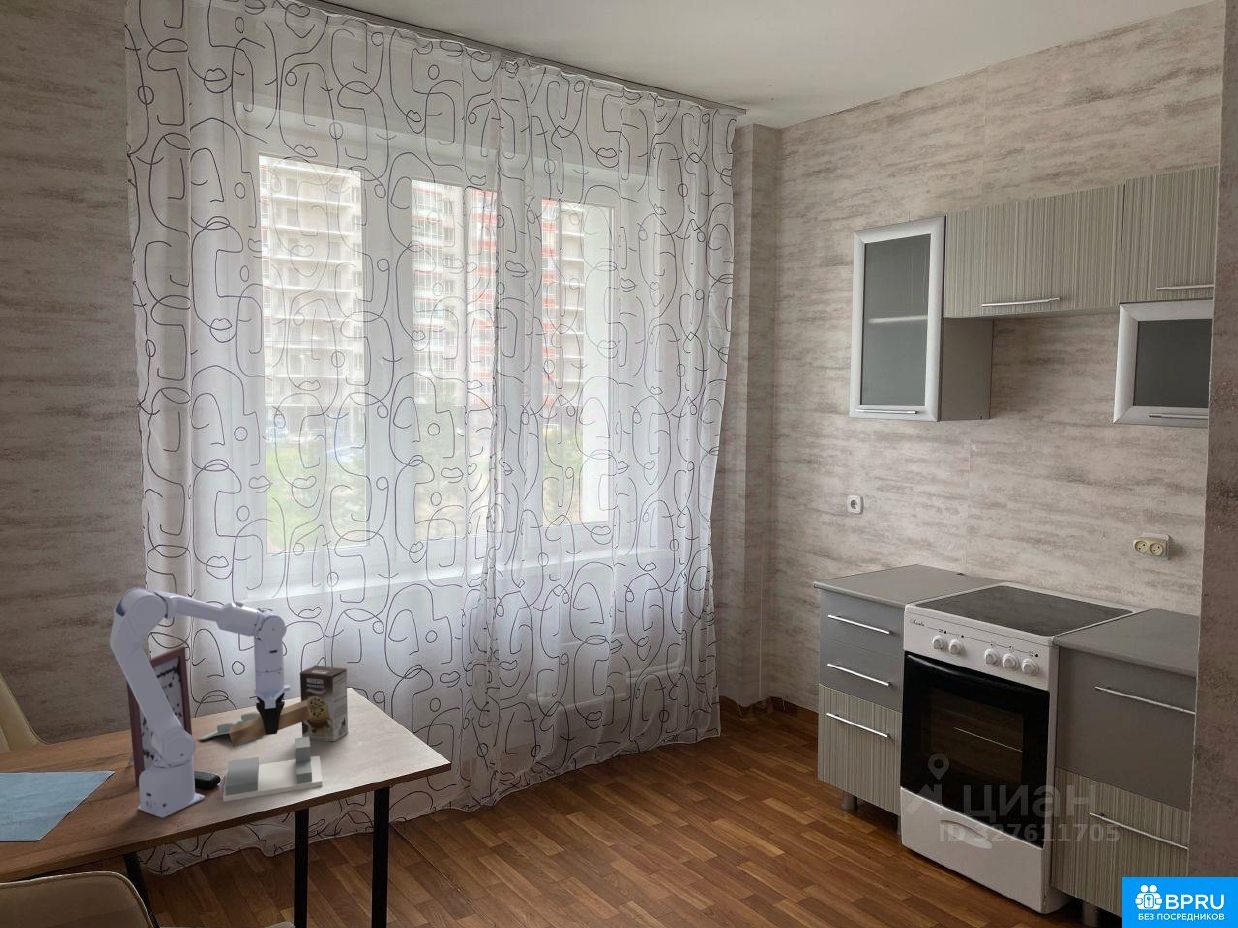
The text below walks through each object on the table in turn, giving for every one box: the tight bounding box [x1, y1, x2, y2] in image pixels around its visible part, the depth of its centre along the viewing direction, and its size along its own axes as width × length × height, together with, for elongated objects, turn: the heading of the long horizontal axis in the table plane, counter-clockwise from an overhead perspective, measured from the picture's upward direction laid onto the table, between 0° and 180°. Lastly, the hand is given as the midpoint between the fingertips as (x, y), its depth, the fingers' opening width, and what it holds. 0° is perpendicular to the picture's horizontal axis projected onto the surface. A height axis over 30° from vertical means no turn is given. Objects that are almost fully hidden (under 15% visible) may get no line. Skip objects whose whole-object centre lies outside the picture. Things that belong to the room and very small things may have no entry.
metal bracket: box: [197, 711, 261, 741], centre depth 213 cm, size 14×6×15 cm
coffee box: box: [299, 665, 349, 742], centre depth 210 cm, size 9×6×16 cm
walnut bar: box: [228, 700, 311, 747], centre depth 189 cm, size 16×4×3 cm, turn 111°
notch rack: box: [222, 736, 323, 803], centre depth 187 cm, size 19×14×6 cm
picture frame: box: [125, 646, 193, 786], centre depth 193 cm, size 17×10×25 cm, turn 168°
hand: (271, 730), depth 189 cm, fingers closed on walnut bar, 4 cm apart
